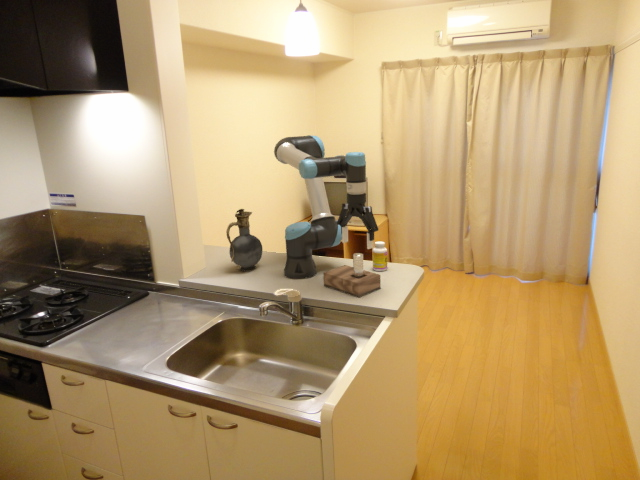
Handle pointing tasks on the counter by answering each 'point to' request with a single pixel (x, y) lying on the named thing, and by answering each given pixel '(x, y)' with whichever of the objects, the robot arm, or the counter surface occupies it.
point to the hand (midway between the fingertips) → (357, 245)
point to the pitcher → (244, 243)
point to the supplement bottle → (379, 256)
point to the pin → (358, 265)
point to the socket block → (351, 281)
